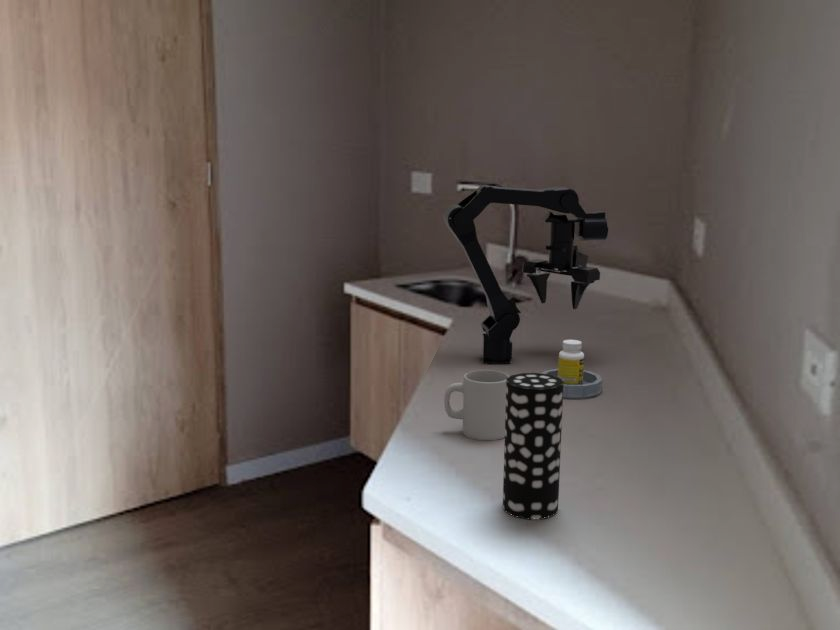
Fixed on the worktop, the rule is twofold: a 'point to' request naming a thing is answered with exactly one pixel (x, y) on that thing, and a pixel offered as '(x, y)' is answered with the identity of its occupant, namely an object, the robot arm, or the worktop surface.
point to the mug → (481, 404)
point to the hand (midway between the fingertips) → (559, 306)
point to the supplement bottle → (571, 363)
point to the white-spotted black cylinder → (532, 444)
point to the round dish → (581, 386)
